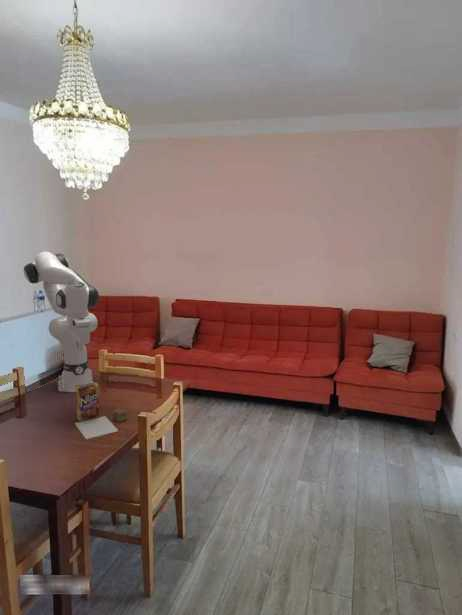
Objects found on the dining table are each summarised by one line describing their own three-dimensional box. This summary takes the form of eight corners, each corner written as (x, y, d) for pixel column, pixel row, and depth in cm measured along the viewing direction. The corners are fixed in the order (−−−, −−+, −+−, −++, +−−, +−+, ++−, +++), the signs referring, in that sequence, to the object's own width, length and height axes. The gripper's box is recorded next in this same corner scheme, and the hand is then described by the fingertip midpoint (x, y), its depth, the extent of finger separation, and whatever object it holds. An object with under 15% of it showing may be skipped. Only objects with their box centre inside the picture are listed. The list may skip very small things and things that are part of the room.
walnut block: (113, 419, 187) (112, 411, 186) (120, 417, 190) (120, 408, 189) (118, 422, 184) (118, 413, 184) (126, 419, 187) (126, 410, 186)
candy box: (79, 422, 184) (77, 388, 181) (76, 418, 188) (74, 385, 185) (99, 417, 189) (98, 384, 186) (97, 414, 192) (95, 381, 190)
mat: (74, 424, 182) (74, 423, 182) (105, 417, 189) (105, 416, 189) (86, 439, 168) (86, 438, 168) (118, 431, 175) (118, 430, 175)
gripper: (64, 316, 194) (66, 345, 197) (76, 323, 178) (78, 356, 180) (79, 314, 198) (80, 343, 200) (92, 322, 181) (93, 353, 183)
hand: (79, 349), depth 190 cm, fingers closed
